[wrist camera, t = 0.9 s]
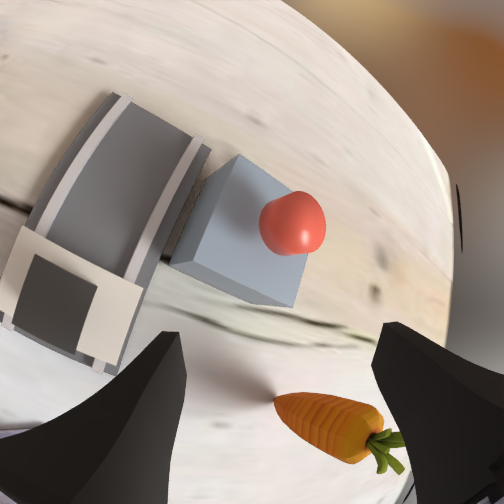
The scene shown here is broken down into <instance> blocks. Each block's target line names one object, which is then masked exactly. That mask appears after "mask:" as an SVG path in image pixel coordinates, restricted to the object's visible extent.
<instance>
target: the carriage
mask: <svg viewBox="0 0 504 504" xmlns="http://www.w3.org/2000/svg"><path fill="white" fill-rule="evenodd" d="M143 289H144V288H142V287H140V286H138V285H136V284H134V283H131V282H129V281H127V280H125V279H123V278H121V277H119V276H117V275H115V274H113V273H110V272H108V271H106V270H104V269H102V268H100V267H98V266H96V265H94V264H92V263H90V262H88V261H87V260H85V259H83V258H81V257H79V256H77V255H75V254H73V253H71V252H69V251H68V250H66V249H64V248H62V247H60V246H58V245H57V244H55V243H53V242H51V241H49V240H48V239H46V238H44V237H42V236H41V235H39V234H37V233H35V232H34V231H32V230H30V229H29V228H27V227H25V226H24V225H22V227H21V229H20V232H19V234H18V236H17V238H16V241H15V243H14V245H13V248H12V250H11V253H10V255H9V258H8V260H7V263H6V266H5V269H4V271H3V274H2V277H1V280H0V310H1V311H2V312H4V313H6V314H7V315H9V316H11V317H12V318H13V319H12V322H11V323H12V324H13V325H15V326H17V327H19V328H20V329H22V330H24V331H26V332H28V333H30V334H31V335H33V336H35V337H37V338H39V339H41V340H43V341H45V342H47V343H49V344H51V345H53V346H55V347H57V348H60V349H62V350H64V351H66V352H68V353H70V354H73V355H75V352H76V350H78V351H80V352H82V353H85V354H87V355H89V356H92V357H94V358H97V359H99V360H102V361H104V362H107V363H110V364H112V365H115V366H116V365H117V362H118V358H119V355H120V352H121V349H122V346H123V343H124V340H125V337H126V334H127V332H128V329H129V326H130V323H131V320H132V318H133V315H134V312H135V309H136V307H137V304H138V302H139V299H140V296H141V294H142V291H143Z"/></svg>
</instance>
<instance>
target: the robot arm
mask: <svg viewBox="0 0 504 504" xmlns="http://www.w3.org/2000/svg"><path fill="white" fill-rule="evenodd" d="M371 366H372V370H373V373H374V376H375V379H376V382H377V385H378V387H379V389H380V392H381V394H382V396H383V398H384V400H385V402H386V404H387V406H388V408H389V410H390V412H391V414H392V416H393V418H394V420H395V422H396V424H397V426H398V428H399V430H400V433H401V435H402V437H403V440H404V443H405V446H406V450H407V453H408V456H409V460H410V464H411V468H412V472H413V476H414V483H415V489H416V495H417V504H504V375H503V374H499V373H497V372H494V371H491V370H488V369H486V368H483V367H481V366H478V365H476V364H474V363H471V362H469V361H467V360H465V359H463V358H461V357H460V356H458V355H455V354H454V353H452V352H450V351H448V350H447V349H445V348H443V347H441V346H440V345H438V344H436V343H435V342H433V341H431V340H429V339H428V338H426V337H424V336H423V335H421V334H419V333H418V332H416V331H414V330H413V329H411V328H409V327H407V326H405V325H403V324H401V323H399V322H389V323H383V327H382V331H381V334H380V338H379V341H378V344H377V348H376V351H375V354H374V357H373V361H372V364H371ZM186 378H187V374H186V369H185V363H184V358H183V352H182V347H181V341H180V335H179V332H167V331H162V332H161V333H160V334H159V335H158V336H157V337H156V338H155V339H154V340H153V341H152V342H151V343H150V344H149V345H148V346H147V347H146V348H145V349H144V350H143V351H142V352H141V353H140V354H139V355H138V356H137V357H136V358H135V359H134V360H133V361H132V362H131V363H130V364H129V365H128V366H127V367H126V368H125V369H124V370H123V371H122V372H120V373H119V374H118V375H117V376H116V377H115V378H114V379H112V380H111V381H110V382H109V383H108V384H107V385H105V386H104V387H103V388H102V389H100V390H99V391H98V392H96V393H95V394H94V395H92V396H91V397H89V398H88V399H87V400H85V401H84V402H82V403H81V404H79V405H77V406H76V407H74V408H72V409H71V410H69V411H67V412H65V413H64V414H62V415H60V416H58V417H57V418H55V419H53V420H51V421H48V422H46V423H44V424H42V425H40V426H37V427H35V428H32V429H21V430H3V431H0V504H167V503H168V483H169V471H170V461H171V455H172V450H173V445H174V441H175V437H176V432H177V428H178V424H179V420H180V415H181V411H182V407H183V403H184V397H185V388H186Z"/></svg>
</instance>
